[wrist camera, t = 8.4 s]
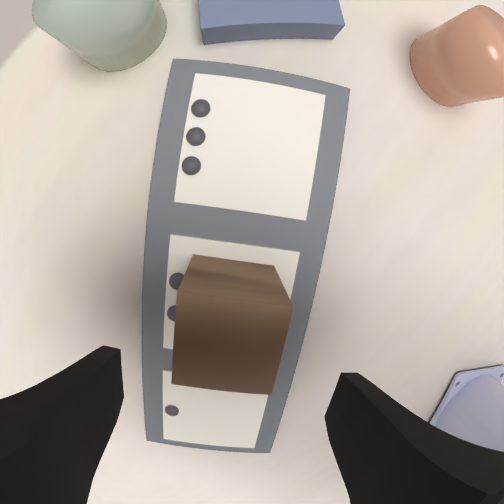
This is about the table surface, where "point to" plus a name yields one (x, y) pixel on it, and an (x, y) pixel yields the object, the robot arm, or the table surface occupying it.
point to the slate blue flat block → (269, 19)
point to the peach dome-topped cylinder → (462, 58)
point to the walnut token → (229, 326)
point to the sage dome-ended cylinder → (104, 29)
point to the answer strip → (235, 227)
